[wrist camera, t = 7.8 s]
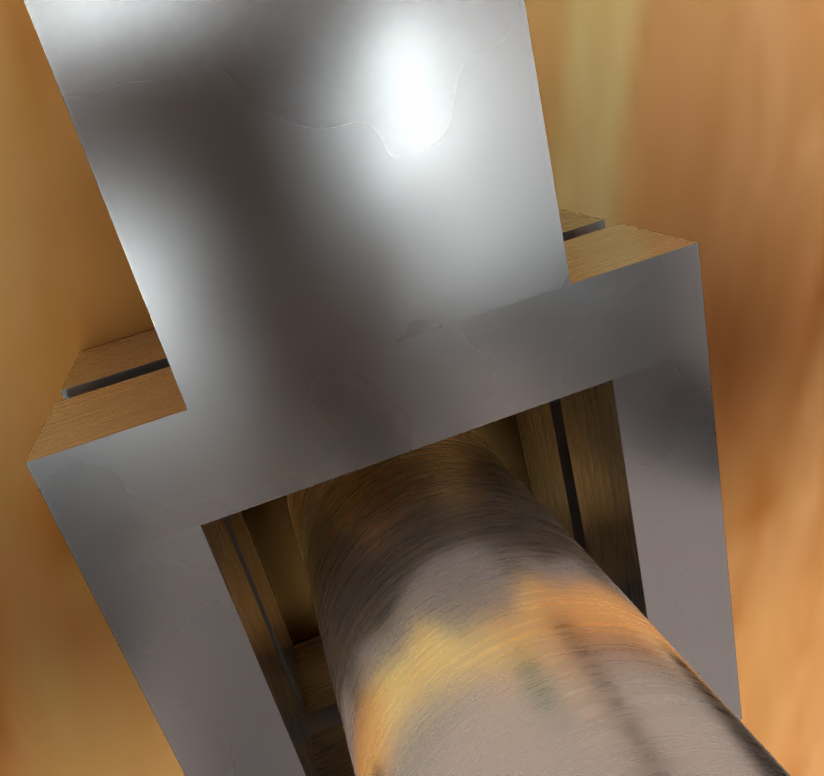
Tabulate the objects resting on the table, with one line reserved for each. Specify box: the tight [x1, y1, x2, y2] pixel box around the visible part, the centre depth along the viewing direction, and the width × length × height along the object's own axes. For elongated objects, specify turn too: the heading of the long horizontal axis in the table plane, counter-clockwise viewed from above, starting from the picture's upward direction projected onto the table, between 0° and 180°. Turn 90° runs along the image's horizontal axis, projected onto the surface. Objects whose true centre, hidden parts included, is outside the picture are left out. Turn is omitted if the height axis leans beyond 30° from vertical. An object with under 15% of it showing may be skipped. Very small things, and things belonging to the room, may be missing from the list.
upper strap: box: [24, 0, 742, 776], centre depth 10 cm, size 11×7×4 cm, turn 14°
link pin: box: [287, 429, 790, 776], centre depth 7 cm, size 3×3×10 cm
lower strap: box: [61, 209, 605, 734], centre depth 13 cm, size 16×7×2 cm, turn 14°
